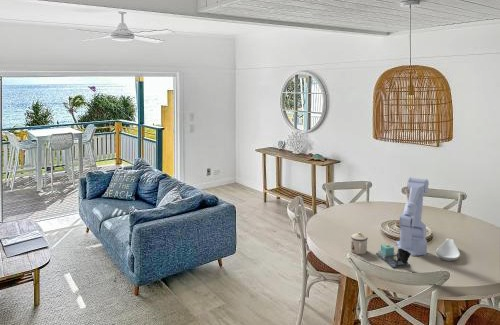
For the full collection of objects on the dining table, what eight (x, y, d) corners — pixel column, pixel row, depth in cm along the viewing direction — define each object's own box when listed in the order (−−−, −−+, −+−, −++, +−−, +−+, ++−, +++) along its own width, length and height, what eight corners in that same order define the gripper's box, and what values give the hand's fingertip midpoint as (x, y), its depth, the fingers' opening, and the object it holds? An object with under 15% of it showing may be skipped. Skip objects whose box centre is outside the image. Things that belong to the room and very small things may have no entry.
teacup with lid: (350, 247, 232) (350, 229, 230) (366, 248, 230) (367, 229, 228) (351, 256, 220) (352, 236, 218) (368, 257, 219) (369, 237, 216)
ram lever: (398, 259, 213) (398, 248, 212) (404, 264, 207) (405, 253, 206) (391, 260, 212) (392, 249, 211) (397, 265, 206) (398, 254, 205)
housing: (388, 250, 223) (389, 242, 222) (393, 254, 218) (394, 246, 217) (380, 251, 222) (381, 243, 221) (385, 255, 217) (385, 247, 216)
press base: (391, 252, 224) (392, 248, 224) (410, 265, 208) (410, 261, 207) (375, 254, 222) (376, 250, 222) (392, 268, 206) (393, 264, 205)
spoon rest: (458, 265, 208) (460, 252, 206) (434, 261, 213) (435, 248, 212) (460, 248, 228) (461, 237, 226) (438, 245, 233) (439, 233, 232)
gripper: (390, 233, 207) (389, 257, 210) (407, 244, 193) (405, 270, 196) (403, 232, 209) (401, 256, 211) (419, 242, 195) (418, 268, 198)
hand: (404, 262), depth 204 cm, fingers closed
